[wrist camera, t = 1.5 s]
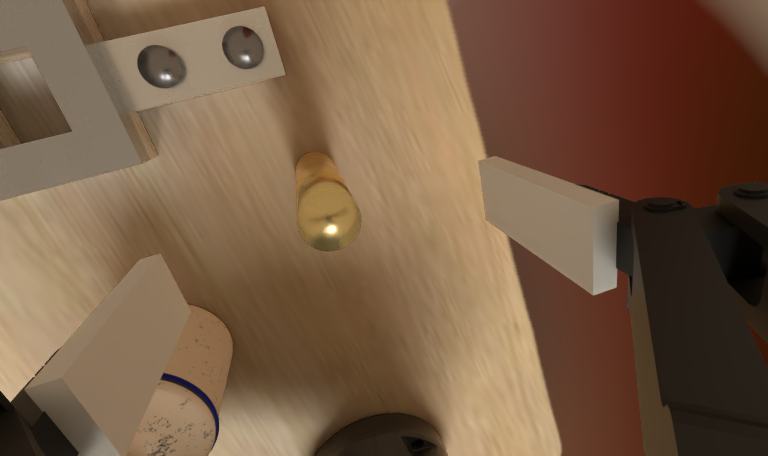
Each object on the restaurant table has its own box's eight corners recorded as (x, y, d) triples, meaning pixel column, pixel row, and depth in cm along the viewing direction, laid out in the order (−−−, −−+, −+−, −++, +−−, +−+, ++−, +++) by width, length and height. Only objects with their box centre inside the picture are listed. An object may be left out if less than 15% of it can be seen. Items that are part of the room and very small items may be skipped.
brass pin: (339, 184, 29) (367, 240, 18) (302, 195, 29) (308, 259, 18) (329, 147, 28) (352, 183, 17) (290, 157, 28) (288, 201, 17)
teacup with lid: (138, 282, 28) (45, 397, 18) (254, 319, 32) (234, 435, 21) (87, 402, 31) (-21, 567, 20) (200, 425, 34) (157, 578, 23)
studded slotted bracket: (299, 119, 27) (300, 123, 24) (-169, 240, 23) (-245, 265, 20) (249, -43, 23) (242, -65, 20) (-321, 72, 20) (-445, 68, 16)
